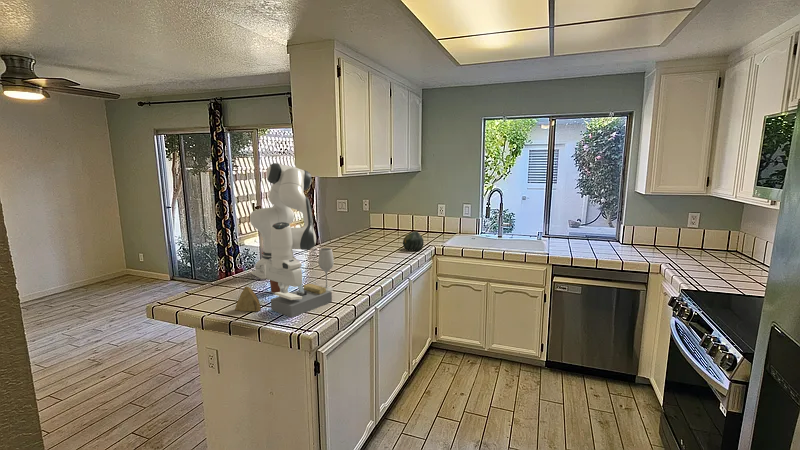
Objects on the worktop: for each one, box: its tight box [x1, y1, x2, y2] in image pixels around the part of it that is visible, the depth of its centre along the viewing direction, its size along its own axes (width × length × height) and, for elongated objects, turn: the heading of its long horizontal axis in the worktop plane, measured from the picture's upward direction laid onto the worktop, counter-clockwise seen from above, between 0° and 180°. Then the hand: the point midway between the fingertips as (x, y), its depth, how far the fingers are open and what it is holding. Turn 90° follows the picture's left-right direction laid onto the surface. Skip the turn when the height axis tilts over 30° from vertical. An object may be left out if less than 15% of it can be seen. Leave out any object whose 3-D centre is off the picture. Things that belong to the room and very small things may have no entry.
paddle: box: [297, 283, 305, 295], centre depth 176 cm, size 2×2×6 cm
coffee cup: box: [269, 280, 280, 295], centre depth 195 cm, size 9×9×12 cm
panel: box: [270, 287, 333, 318], centre depth 176 cm, size 14×23×7 cm, turn 144°
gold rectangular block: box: [303, 283, 326, 294], centre depth 182 cm, size 11×4×2 cm, turn 54°
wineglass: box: [317, 247, 335, 292], centre depth 198 cm, size 8×8×21 cm
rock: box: [234, 286, 262, 312], centre depth 171 cm, size 11×9×10 cm
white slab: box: [274, 291, 302, 300], centre depth 170 cm, size 11×6×1 cm, turn 54°
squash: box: [402, 231, 425, 251], centre depth 288 cm, size 14×15×15 cm
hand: (284, 292), depth 168 cm, fingers closed
